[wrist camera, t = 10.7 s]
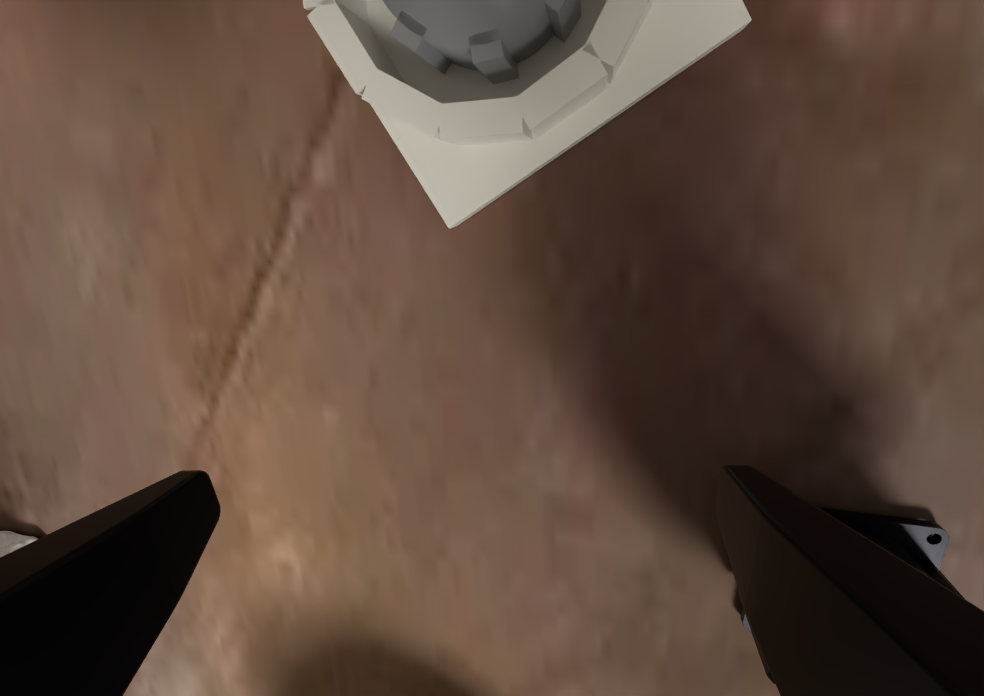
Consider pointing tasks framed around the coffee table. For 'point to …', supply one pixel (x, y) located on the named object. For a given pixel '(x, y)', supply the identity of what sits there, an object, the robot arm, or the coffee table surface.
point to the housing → (509, 77)
